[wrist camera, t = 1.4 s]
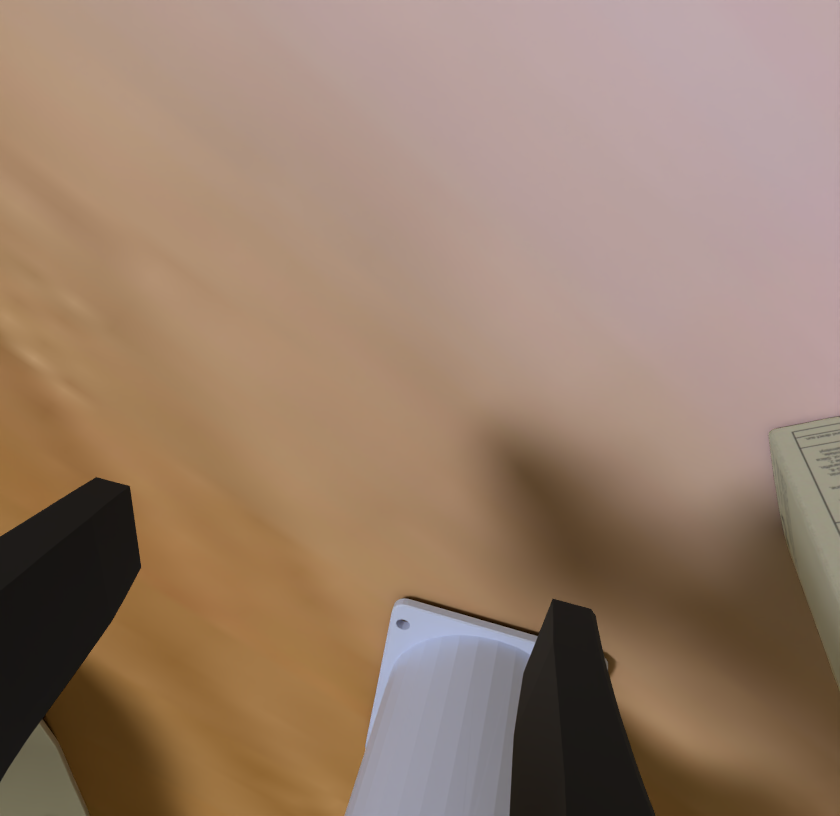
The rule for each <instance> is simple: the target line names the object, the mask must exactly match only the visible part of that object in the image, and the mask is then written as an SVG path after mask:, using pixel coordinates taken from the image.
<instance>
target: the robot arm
mask: <svg viewBox="0 0 840 816" xmlns="http://www.w3.org/2000/svg"><path fill="white" fill-rule="evenodd" d="M140 568H141V563H140V556H139V548H138V541H137V534H136V527H135V520H134V513H133V506H132V499H131V492H130V486H127V485H123V484H120V483H116V482H112V481H108V480H105V479H101V478H97V477H96V478H94V479H93V480H91V481H89V482H88V483H86V484H84V485H83V486H81V487H79V488H78V489H76V490H74V491H73V492H71V493H70V494H68V495H66V496H65V497H63V498H61V499H60V500H58V501H57V502H55V503H53V504H52V505H50V506H49V507H47V508H46V509H44V510H42V511H41V512H39V513H38V514H36V515H34V516H33V517H31V518H30V519H28V520H26V521H25V522H23V523H22V524H20V525H18V526H17V527H15V528H13V529H12V530H10V531H9V532H7V533H5V534H4V535H2V536H0V782H1V780H2V778H3V777H4V775H5V773H6V772H7V770H8V768H9V767H10V765H11V764H12V762H13V761H14V759H15V757H16V756H17V754H18V753H19V751H20V750H21V748H22V747H23V745H24V744H25V742H26V741H27V739H28V738H29V737H30V735H31V734H32V732H33V731H34V730H35V728H36V727H37V725H38V724H39V723H40V721H41V720H42V718H43V717H44V716H45V714H46V713H47V712H48V710H49V709H50V707H51V706H52V705H53V703H54V702H55V700H56V699H57V698H58V696H59V695H60V693H61V692H62V691H63V689H64V688H65V686H66V685H67V684H68V682H69V681H70V680H71V678H72V677H73V675H74V674H75V673H76V671H77V670H78V668H79V667H80V666H81V664H82V663H83V661H84V660H85V659H86V657H87V656H88V654H89V653H90V652H91V650H92V649H93V647H94V646H95V644H96V643H97V642H98V640H99V639H100V637H101V636H102V635H103V633H104V632H105V630H106V629H107V627H108V626H109V624H110V623H111V622H112V620H113V618H114V616H115V615H116V613H117V611H118V609H119V607H120V606H121V604H122V602H123V600H124V599H125V597H126V595H127V593H128V591H129V589H130V587H131V585H132V583H133V582H134V580H135V578H136V576H137V574H138V572H139V570H140ZM401 619H403V620H406V621H408V622H404V621H402V620H401ZM365 747H366V750H365V753H364V756H363V760H362V763H361V766H360V769H359V772H358V775H357V778H356V781H355V785H354V788H353V791H352V794H351V797H350V800H349V803H348V807H347V810H346V813H345V816H655V813H654V810H653V808H652V805H651V802H650V800H649V797H648V795H647V792H646V789H645V787H644V784H643V781H642V778H641V776H640V773H639V770H638V767H637V764H636V761H635V758H634V755H633V752H632V749H631V746H630V743H629V740H628V737H627V734H626V731H625V728H624V725H623V722H622V719H621V715H620V712H619V709H618V705H617V702H616V699H615V695H614V692H613V688H612V684H611V681H610V677H609V673H608V662H607V659H606V658H605V657H604V654H603V649H602V645H601V641H600V636H599V631H598V626H597V621H596V615H595V614H594V613H593V611H592V610H591V609H589V608H586V607H582V606H578V605H574V604H571V603H567V602H563V601H559V600H555V599H553V600H552V602H551V605H550V607H549V610H548V612H547V615H546V617H545V620H544V622H543V625H542V627H541V630H540V632H539V635H538V636H535V635H532V634H528V633H525V632H522V631H518V630H515V629H511V628H508V627H504V626H501V625H497V624H494V623H490V622H487V621H483V620H480V619H477V618H473V617H470V616H466V615H463V614H459V613H456V612H452V611H449V610H445V609H442V608H438V607H435V606H432V605H428V604H425V603H421V602H418V601H414V600H411V599H405V598H403V599H399V600H397V601H396V602H395V604H394V607H393V610H392V614H391V619H390V624H389V629H388V634H387V639H386V644H385V649H384V654H383V659H382V664H381V669H380V674H379V679H378V684H377V690H376V695H375V700H374V705H373V710H372V715H371V720H370V725H369V730H368V735H367V740H366V745H365Z"/></svg>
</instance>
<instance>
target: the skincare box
mask: <svg viewBox="0 0 840 816" xmlns="http://www.w3.org/2000/svg"><path fill="white" fill-rule="evenodd" d="M768 436H769V444H770V452H771V459H772V467H773V474H774V481H775V487H776V493H777V500H778V506H779V511H780V517H781V522H782V526H783V531H784V536H785V541H786V545H787V548H788V550H789V553H790V556H791V558H792V561H793V564H794V567H795V569H796V572H797V575H798V578H799V580H800V583H801V586H802V589H803V591H804V594H805V597H806V600H807V603H808V605H809V608H810V611H811V614H812V616H813V619H814V622H815V625H816V627H817V630H818V633H819V636H820V638H821V641H822V644H823V647H824V650H825V653H826V655H827V658H828V661H829V664H830V667H831V670H832V673H833V675H834V678H835V681H836V683H837V686H838V689H839V691H840V417H833V418H828V419H822V420H818V421H813V422H808V423H803V424H798V425H792V426H787V427H782V428H777V429H773V430H771V431H770V432H769V435H768Z"/></svg>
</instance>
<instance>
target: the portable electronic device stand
mask: <svg viewBox="0 0 840 816" xmlns="http://www.w3.org/2000/svg"><path fill="white" fill-rule="evenodd" d="M0 816H90V814H89V811H88V809H87V807H86V804H85V802H84V800H83V797H82V795H81V793H80V790H79V788H78V786H77V784H76V781H75V779H74V777H73V774H72V772H71V769H70V767H69V765H68V762H67V760H66V758H65V755H64V753H63V751H62V749H61V746H60V744H59V742H58V740H57V739H56V737H55V736H54V735H53V733H52V732H51V730H50V729H49V728H48V726H47V725H46V723H45V722H44V721H43V719H42V720H41V721H40V723H39V724H38V725H37V727H36V728H35V730H34V731H33V732H32V734H31V735H30V737H29V738H28V739H27V741H26V742H25V744H24V745H23V747H22V748H21V750H20V751H19V753H18V754H17V756H16V757H15V759H14V761H13V762H12V764H11V765H10V767H9V768H8V770H7V772H6V773H5V775H4V777H3V778H2V780H1V782H0Z"/></svg>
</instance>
